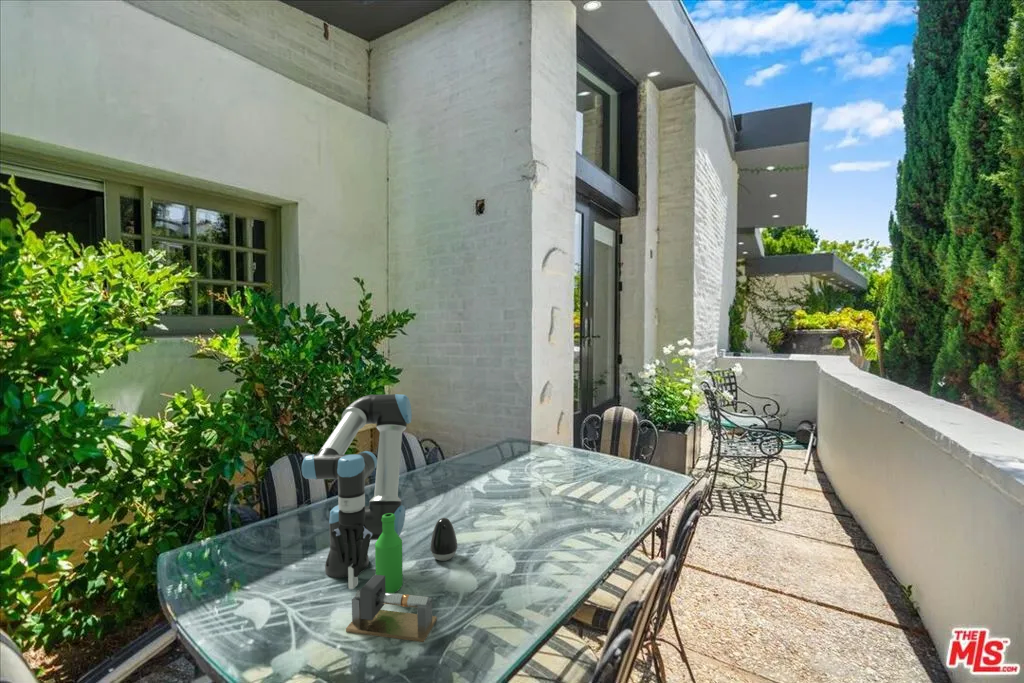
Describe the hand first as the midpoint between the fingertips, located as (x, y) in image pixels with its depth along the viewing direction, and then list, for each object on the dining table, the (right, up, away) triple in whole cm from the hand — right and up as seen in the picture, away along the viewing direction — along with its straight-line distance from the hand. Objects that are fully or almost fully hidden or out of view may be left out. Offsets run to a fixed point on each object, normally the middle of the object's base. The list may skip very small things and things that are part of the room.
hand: (353, 586), depth 135 cm
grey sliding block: (+6, -7, -1) cm, 9 cm away
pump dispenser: (+22, -10, +38) cm, 45 cm away
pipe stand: (+12, -10, -2) cm, 16 cm away
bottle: (+6, -10, +17) cm, 21 cm away
